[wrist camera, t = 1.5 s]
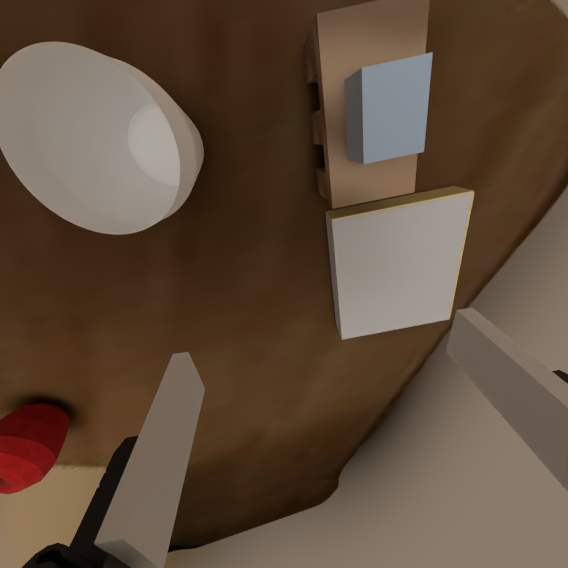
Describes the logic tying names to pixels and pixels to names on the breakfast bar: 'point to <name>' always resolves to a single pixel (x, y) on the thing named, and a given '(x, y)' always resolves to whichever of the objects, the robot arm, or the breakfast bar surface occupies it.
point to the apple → (30, 444)
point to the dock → (397, 260)
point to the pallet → (330, 76)
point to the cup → (95, 138)
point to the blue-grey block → (387, 109)
